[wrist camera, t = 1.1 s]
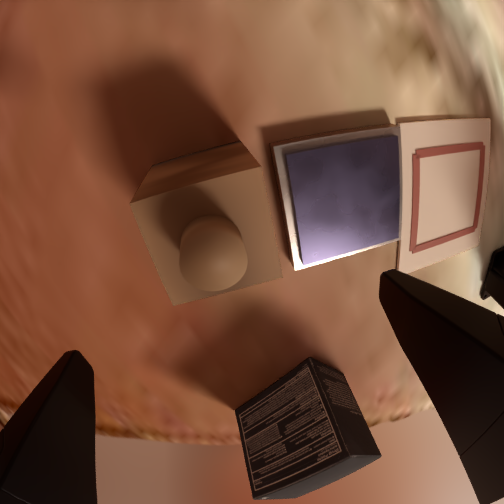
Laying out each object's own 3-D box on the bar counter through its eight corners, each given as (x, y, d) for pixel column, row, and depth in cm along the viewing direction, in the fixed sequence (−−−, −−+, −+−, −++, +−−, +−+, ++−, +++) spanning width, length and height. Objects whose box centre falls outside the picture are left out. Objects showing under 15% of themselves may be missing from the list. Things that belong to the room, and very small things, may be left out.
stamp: (240, 140, 16) (270, 177, 9) (258, 220, 18) (292, 298, 12) (152, 165, 16) (120, 220, 9) (178, 242, 18) (171, 329, 12)
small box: (274, 422, 31) (295, 500, 22) (232, 409, 28) (247, 500, 19) (347, 373, 28) (385, 458, 20) (309, 354, 26) (349, 457, 17)
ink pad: (391, 123, 16) (404, 127, 15) (393, 233, 20) (404, 242, 19) (269, 143, 16) (275, 148, 15) (290, 262, 20) (296, 274, 19)
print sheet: (487, 118, 17) (491, 118, 16) (476, 244, 23) (478, 246, 22) (397, 122, 16) (400, 123, 16) (396, 274, 22) (398, 277, 22)
